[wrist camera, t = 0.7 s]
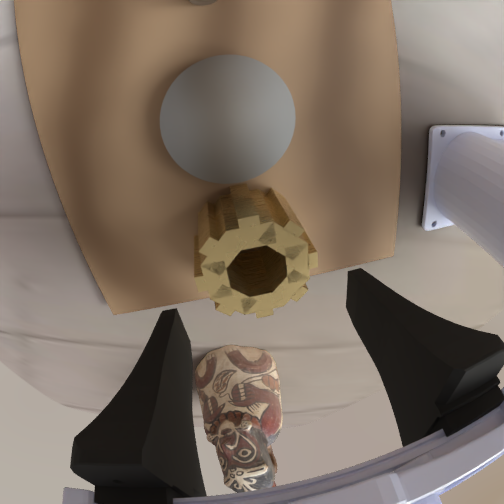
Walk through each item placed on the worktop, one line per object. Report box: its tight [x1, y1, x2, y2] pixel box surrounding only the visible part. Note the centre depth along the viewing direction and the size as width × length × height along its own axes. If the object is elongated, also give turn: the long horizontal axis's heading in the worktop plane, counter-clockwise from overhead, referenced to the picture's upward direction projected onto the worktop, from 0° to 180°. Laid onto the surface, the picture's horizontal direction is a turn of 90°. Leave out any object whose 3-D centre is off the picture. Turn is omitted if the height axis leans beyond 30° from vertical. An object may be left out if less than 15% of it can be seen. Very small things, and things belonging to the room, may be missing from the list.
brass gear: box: [194, 183, 318, 318], centre depth 17 cm, size 6×6×4 cm
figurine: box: [195, 345, 283, 493], centre depth 22 cm, size 7×7×12 cm
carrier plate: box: [14, 0, 401, 315], centre depth 14 cm, size 20×22×5 cm
